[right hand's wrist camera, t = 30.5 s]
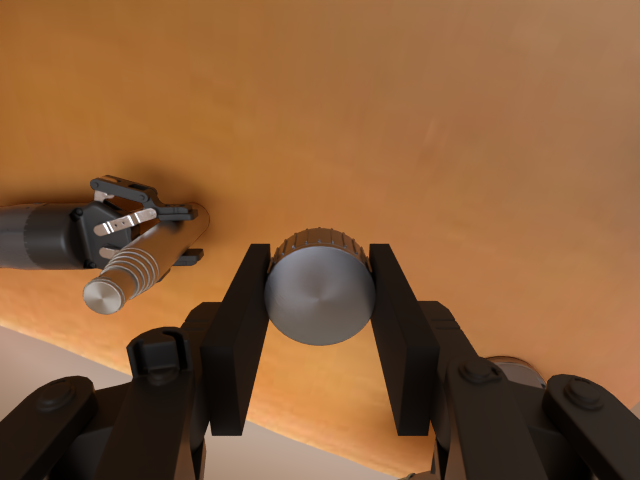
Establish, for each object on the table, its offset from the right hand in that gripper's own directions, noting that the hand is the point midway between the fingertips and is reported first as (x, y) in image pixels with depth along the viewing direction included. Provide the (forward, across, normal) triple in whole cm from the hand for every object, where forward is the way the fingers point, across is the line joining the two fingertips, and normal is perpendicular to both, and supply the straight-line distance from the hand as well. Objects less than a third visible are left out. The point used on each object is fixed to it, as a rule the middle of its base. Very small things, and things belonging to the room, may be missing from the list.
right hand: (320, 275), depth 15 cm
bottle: (+31, +16, +7) cm, 36 cm away
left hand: (+25, +14, +7) cm, 29 cm away
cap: (-2, 0, 0) cm, 2 cm away
